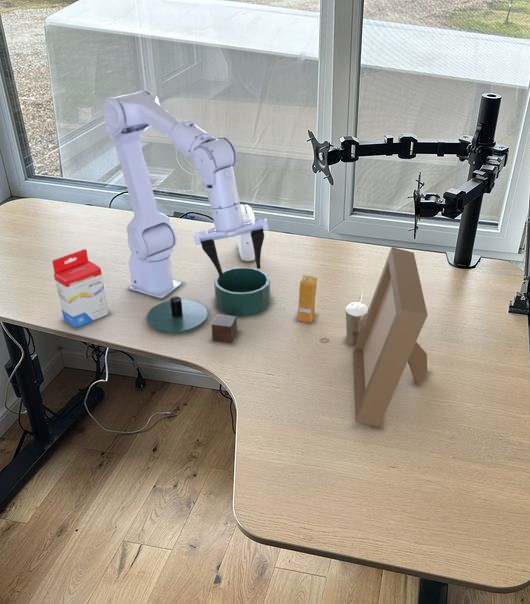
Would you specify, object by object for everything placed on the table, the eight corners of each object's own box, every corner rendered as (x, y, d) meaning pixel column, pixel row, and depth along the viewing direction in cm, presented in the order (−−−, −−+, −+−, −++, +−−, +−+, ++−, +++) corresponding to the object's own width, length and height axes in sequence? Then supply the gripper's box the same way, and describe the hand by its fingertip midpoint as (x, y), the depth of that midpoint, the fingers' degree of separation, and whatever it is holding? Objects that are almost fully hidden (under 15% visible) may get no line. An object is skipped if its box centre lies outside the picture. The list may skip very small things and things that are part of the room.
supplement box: (312, 323, 145) (314, 283, 140) (297, 321, 146) (298, 281, 140) (315, 315, 148) (317, 276, 142) (300, 313, 149) (301, 274, 143)
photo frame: (355, 425, 118) (365, 307, 104) (352, 355, 136) (361, 245, 121) (437, 429, 118) (459, 310, 103) (424, 358, 136) (441, 248, 121)
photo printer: (257, 261, 169) (256, 216, 161) (240, 262, 168) (239, 217, 161) (253, 243, 177) (252, 200, 170) (237, 244, 176) (235, 200, 169)
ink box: (75, 329, 141) (62, 268, 133) (63, 320, 144) (49, 260, 135) (109, 314, 147) (99, 255, 138) (97, 305, 149) (86, 247, 141)
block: (212, 341, 139) (211, 324, 136) (218, 330, 142) (217, 313, 140) (231, 343, 138) (230, 327, 136) (237, 332, 142) (236, 316, 139)
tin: (210, 314, 147) (208, 291, 144) (222, 287, 157) (221, 265, 154) (264, 318, 146) (264, 296, 143) (273, 291, 156) (273, 269, 153)
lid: (139, 332, 141) (136, 312, 138) (157, 301, 151) (155, 282, 148) (199, 338, 140) (197, 317, 137) (213, 305, 150) (212, 286, 147)
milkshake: (368, 336, 142) (371, 296, 136) (361, 349, 138) (365, 308, 132) (348, 331, 143) (350, 292, 137) (341, 345, 139) (343, 304, 133)
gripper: (187, 216, 122) (204, 284, 128) (264, 201, 123) (277, 269, 129) (188, 208, 128) (204, 274, 134) (260, 194, 129) (273, 259, 135)
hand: (239, 271), depth 132 cm, fingers open, 7 cm apart
